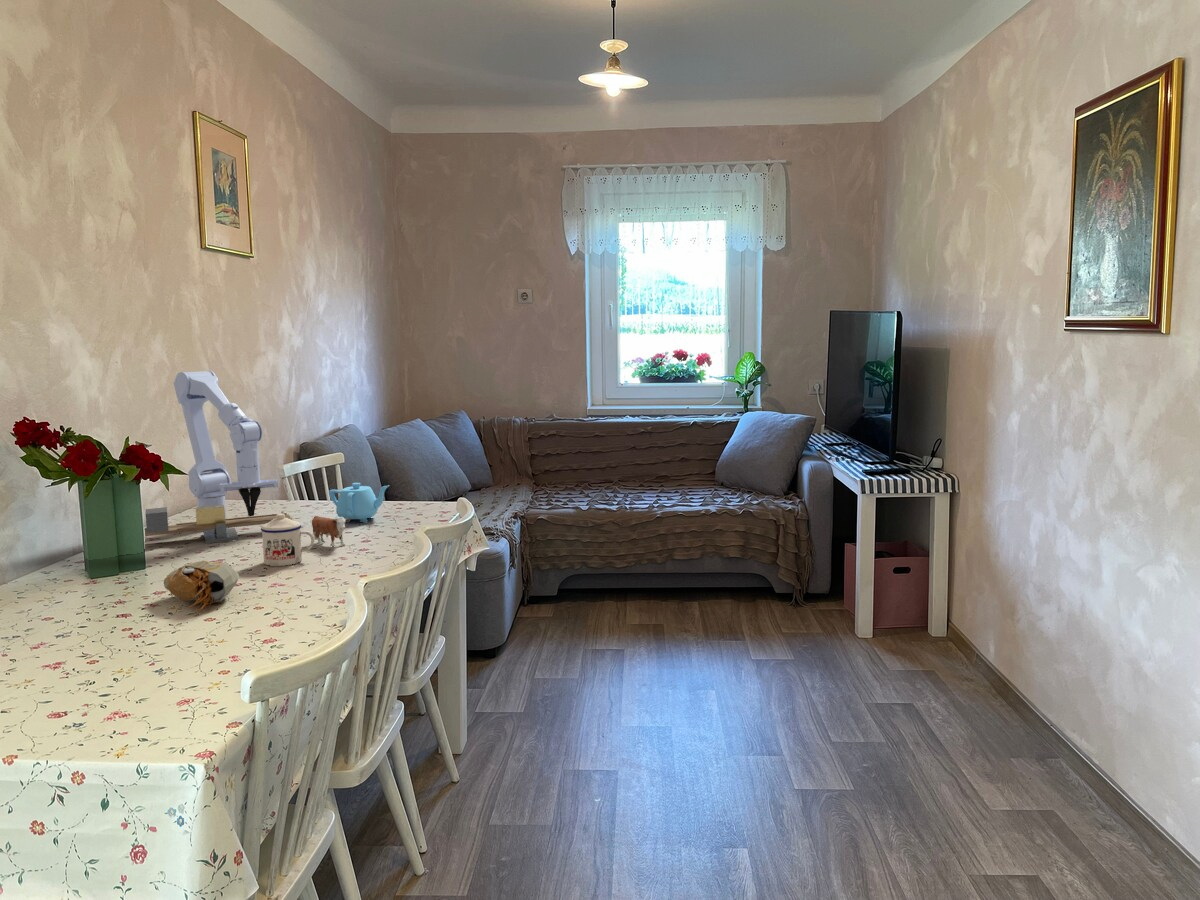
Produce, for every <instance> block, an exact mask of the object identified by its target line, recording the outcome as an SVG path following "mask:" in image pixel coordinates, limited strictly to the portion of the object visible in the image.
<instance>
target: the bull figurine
mask: <svg viewBox="0 0 1200 900" xmlns="http://www.w3.org/2000/svg"><path fill="white" fill-rule="evenodd" d="M349 520H350V521H351V519H349V518H347V519H344V518H343V517H339V516H337V517H325V516H324V517H323V516H318V515H315V516H314V517H313V519H312V520H311V527H312V534H313V535H314V539H315V540H314V541H316V540H317V544H318V546H323V545H324V543H325V542H326V540H325V539H324V535H325V537H326V538H329V536H330V540H331V543H330V547H331V546H332V547H331V548H335V547H336V545H335V542H334V541H335V539H339V541H340V545H341V547H345V546H344V545H346V544H345V542H344V536H343V532H344V531H345V530H346V526H345V525H346V523H345V522H348V521H349ZM322 542H324V543H322ZM334 546H335V547H334Z"/></svg>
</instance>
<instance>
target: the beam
mask: <svg viewBox="0 0 1200 900" xmlns="http://www.w3.org/2000/svg"><path fill="white" fill-rule="evenodd" d="M167 508H168V507H167V506H165V507H155V508H154V507H153V508H145V513H144V514H145V524H146V527H145V528H144V536H145V537H151V536H152V537H153V536H161V535H162V536H163V535H169V534H170V535H171V534H181V533H190V532H192V533H193V532H200V531H201V532H203V531H208V530H214V529H216V525H208V526H198V527H197V524H196V521H192V522H182V523H176V524H170V525H169V520H168V518H169V517H168V509H167ZM277 514H278V513H274V514H273V513H272V514H262V515H254V516H243V517H234V518H233V517H231V518H226V519H225V520H226V529H228V528H240V527H241V528H242V527H249V526H260V525H261V526H262V525H264V524H266V523H269V522H270V521H271V520H273V519H276V515H277ZM281 514H284V515H285V518H289V519H291V520H293V518H292V517H291V515H290V514H289V513H287V512H286V513H285V512H283V513H281Z"/></svg>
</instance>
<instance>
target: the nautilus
mask: <svg viewBox="0 0 1200 900" xmlns="http://www.w3.org/2000/svg"><path fill="white" fill-rule="evenodd" d="M239 576H240V574H239V573H238V572H237V571H236V570H235V568H233V567H231V566H230V565H228V564H227V563H225V562H214V561H208V560H199V561H194V562H191V563H188V564H184V565H183V566H180V567H179V568H176V569H175V570H172V571H171V572H169V574H167V576H166V577H165V578H164V579H163V586H164V588H165V589H166V590H167V591H169V592H170V594H171V595H172V596H174V597H176V598H177V599H178V600H179V601H183V602H188V601H189V602H190V601H195V602H194V603H192V604H191V605H189V606H188V607H187V609H189V608H191V607H194V606H196V605H198V604H199V603H200V605H198V606H197V607H196V608H195V609H193V610H191V613H189V614H187V616H190V615H192V614H197V613H199V612H201V611H203V612H202V613H205V609H206V608H207V610H208V611H210V609H209V608H210V606H211V605H212V604H213V603H217V602H222V601H223V600H224V599H225V598H226V597H227V596H228V595H229V594H230V593H231V592H232V590H233V589H234V587H235V586H236V585H237V583H238V581H239V578H240V577H239ZM200 607H201V608H200ZM199 608H200V609H199ZM197 609H198V610H197ZM196 610H197V611H196ZM194 611H195V612H194Z"/></svg>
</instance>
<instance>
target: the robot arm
mask: <svg viewBox="0 0 1200 900" xmlns="http://www.w3.org/2000/svg"><path fill="white" fill-rule="evenodd" d="M173 386H174V391H175V394H176V399H177V402H178V404H181V405H180V406H181V409H182V412H183V417H184V421H185V424H186V428H187V434H188V437H189V441H190V445H191V450H192V453H193V454H192V455H193V456H194V462H195V464H194V465H193V466H192V467H191V468H190V470H189V471H188V472H187V474H188V487H189V490H190V492H191V493H192V495H194V497H195V498H196V500H197V507H206V506H217V505H224V507H225V519H227V509H226V496H225V495H228V492H230V491H231V492H232V491H238V492H239V494H240V496H241V498H242V500H243V502H244V505H245V507H246V510H247V511H246V512H247V517H251V516H255V511H256V506H257V502H258V499H259V497H260V494H261V492H262V491H261V489H269V488H279V481H278V479H277V478H276V479H261V474H260V473H261V472H260V471H261V470H260V457H259V456H260V453H259V441H261V439H262V438H263V429H262V426H261V424H260V422H259V421H257V420H255V419H254V420H253V419H251V418H249V417H248V416H247V415H246V413H245V412H243V410H242V409H241V408H240V407H239V405H238V404H237V403H234V402H230V401H229V400H228V398H227V396H226V395H225V394H224V393H223V391H222V389H221V388H220V386H219V377H218V376H217V375H216V374H215V372H214V371H213V370H205V371H185V372H184V371H179V372H178V373H177V374H176V376H175V379H174V382H173ZM208 401H209V402H210V403H211V405H213V406H214V407H215V409H217V411H218V412H217V413H218V415H217V416H218V418H219V419H220V420H221V422H222V423H223V424H224V426H226V428H227V429H228V430H229V431H230V432H229V437H230V440H231V442H232V447H233V450H234V451H235V459H236V473H237V475H236V476H237V481H233V482H232V480H231V476H230V475H229V473H228V471H227V468H226V465H225V464H224V463H222V462H220V461H219V460H217V459H216V456H215V452H214V448H213V444H212V440H211V439H212V438H211V436H210V431H209V428H208V423H207V420H206V419H207V418H206V415H205V411H204V404H205V403H207V402H208Z"/></svg>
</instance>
